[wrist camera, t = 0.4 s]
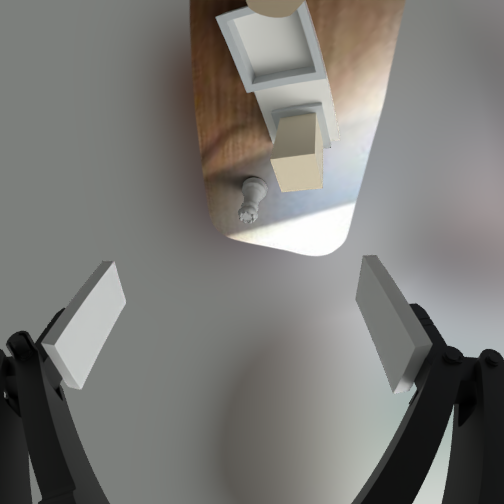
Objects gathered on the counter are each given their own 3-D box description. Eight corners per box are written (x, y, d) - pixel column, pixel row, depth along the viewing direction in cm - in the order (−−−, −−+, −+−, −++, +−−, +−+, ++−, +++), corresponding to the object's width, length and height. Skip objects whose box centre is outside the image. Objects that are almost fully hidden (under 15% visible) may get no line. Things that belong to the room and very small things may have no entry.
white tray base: (225, 12, 28) (190, 30, 21) (303, -7, 24) (298, -1, 17) (276, 145, 44) (264, 200, 37) (340, 137, 41) (344, 192, 34)
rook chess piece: (246, 195, 54) (237, 227, 50) (240, 176, 51) (229, 209, 46) (270, 194, 53) (263, 227, 49) (265, 175, 50) (257, 208, 45)
